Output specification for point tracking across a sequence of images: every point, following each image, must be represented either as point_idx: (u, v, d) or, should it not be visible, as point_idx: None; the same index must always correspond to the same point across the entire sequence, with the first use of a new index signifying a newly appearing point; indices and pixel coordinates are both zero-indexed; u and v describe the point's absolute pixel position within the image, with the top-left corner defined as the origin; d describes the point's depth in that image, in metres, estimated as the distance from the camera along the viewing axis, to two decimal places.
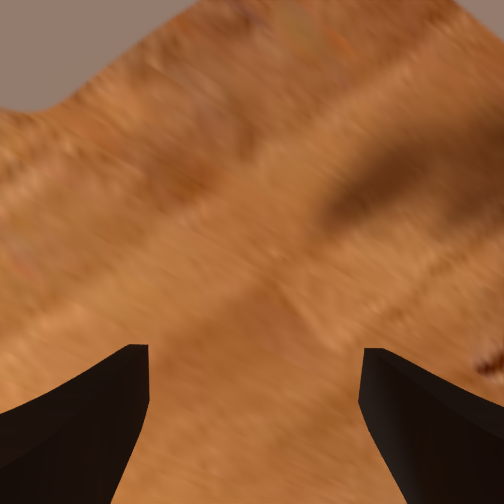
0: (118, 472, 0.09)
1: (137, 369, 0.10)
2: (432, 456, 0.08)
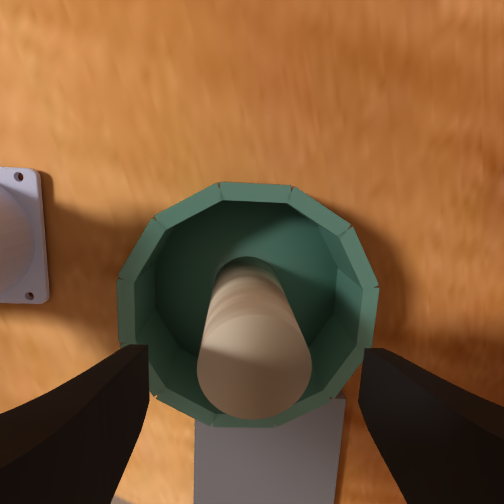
0: (118, 472, 0.09)
1: (137, 369, 0.10)
2: (432, 456, 0.08)
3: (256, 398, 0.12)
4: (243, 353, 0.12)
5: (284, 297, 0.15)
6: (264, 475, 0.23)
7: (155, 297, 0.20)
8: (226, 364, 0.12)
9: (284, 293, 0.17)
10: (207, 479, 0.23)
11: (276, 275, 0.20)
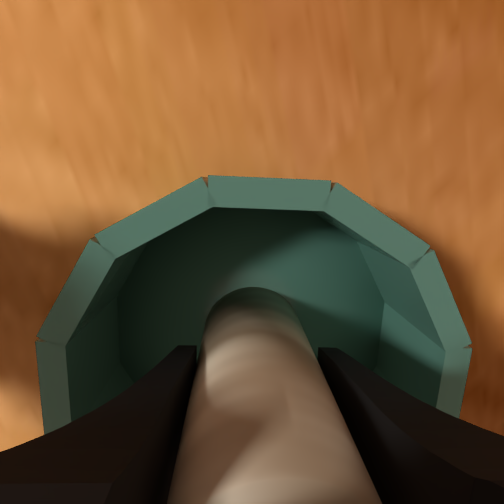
0: None
1: (191, 370, 0.10)
2: (365, 456, 0.07)
3: None
4: None
5: (320, 374, 0.09)
6: None
7: (119, 347, 0.14)
8: None
9: None
10: None
11: (296, 316, 0.13)
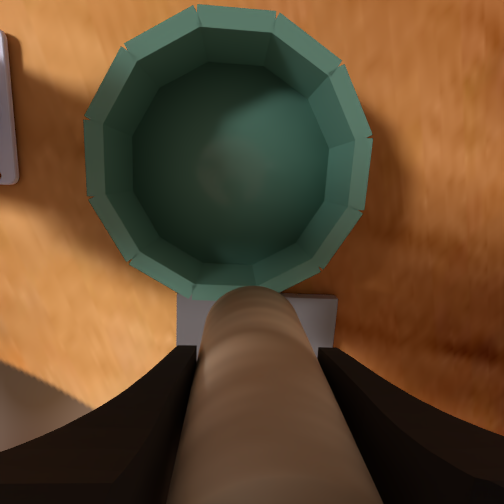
0: None
1: (191, 370, 0.10)
2: (365, 456, 0.07)
3: None
4: None
5: (320, 372, 0.09)
6: None
7: (132, 177, 0.19)
8: None
9: (315, 355, 0.10)
10: None
11: (296, 314, 0.13)
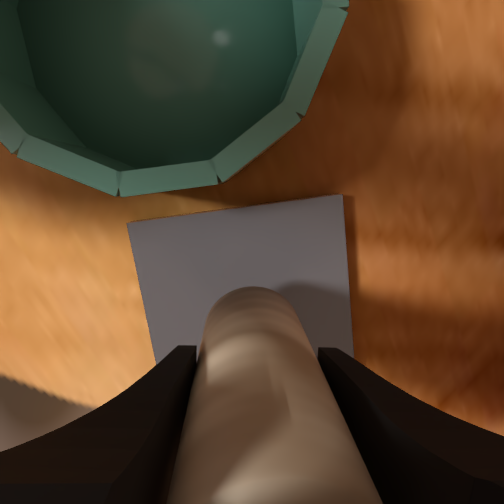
0: None
1: (191, 370, 0.10)
2: (365, 456, 0.07)
3: None
4: None
5: (320, 373, 0.09)
6: None
7: (31, 68, 0.14)
8: None
9: None
10: (171, 347, 0.17)
11: (296, 315, 0.13)
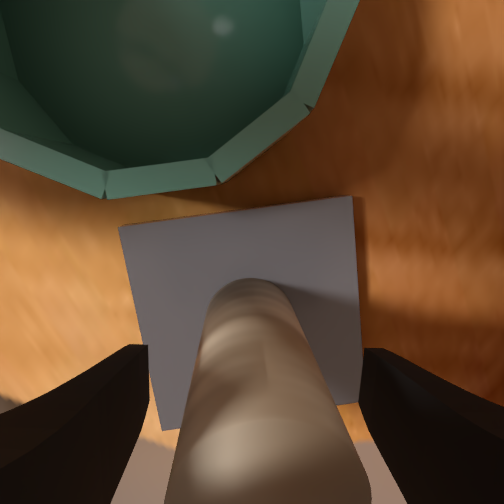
0: (118, 472, 0.09)
1: (137, 369, 0.10)
2: (432, 456, 0.08)
3: None
4: (248, 485, 0.06)
5: (308, 350, 0.10)
6: None
7: (12, 58, 0.13)
8: None
9: (305, 337, 0.11)
10: (167, 360, 0.15)
11: (290, 304, 0.14)
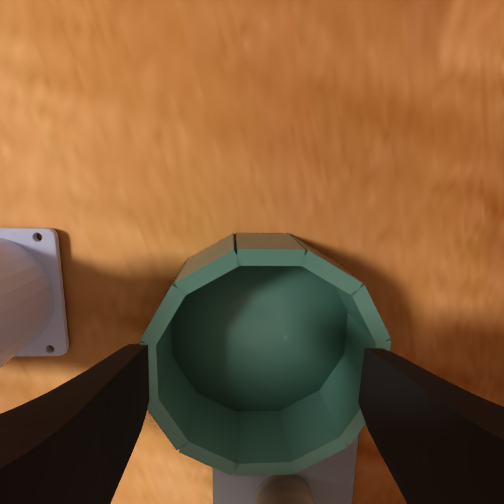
0: (118, 472, 0.09)
1: (137, 369, 0.10)
2: (432, 456, 0.08)
3: None
4: None
5: None
6: None
7: (172, 346, 0.21)
8: None
9: None
10: None
11: (311, 496, 0.23)
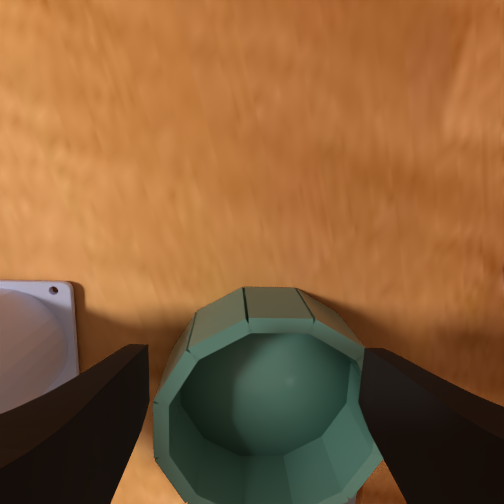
0: (118, 472, 0.09)
1: (137, 369, 0.10)
2: (432, 456, 0.08)
3: None
4: None
5: None
6: None
7: (180, 394, 0.22)
8: None
9: None
10: None
11: None
